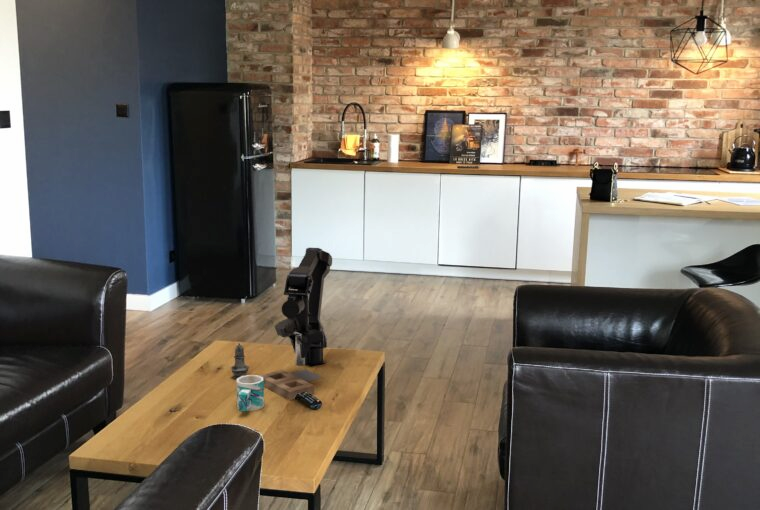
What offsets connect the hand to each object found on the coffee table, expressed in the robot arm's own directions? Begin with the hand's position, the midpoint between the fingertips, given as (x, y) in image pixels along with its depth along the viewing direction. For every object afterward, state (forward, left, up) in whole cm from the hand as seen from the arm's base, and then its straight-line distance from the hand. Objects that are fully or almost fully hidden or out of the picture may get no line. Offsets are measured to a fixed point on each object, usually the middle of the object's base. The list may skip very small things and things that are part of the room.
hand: (300, 356), depth 263 cm
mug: (+26, +11, -8) cm, 29 cm away
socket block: (+9, +5, -8) cm, 13 cm away
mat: (-1, -1, -8) cm, 8 cm away
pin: (0, 0, -3) cm, 3 cm away
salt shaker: (+15, -13, -8) cm, 21 cm away
